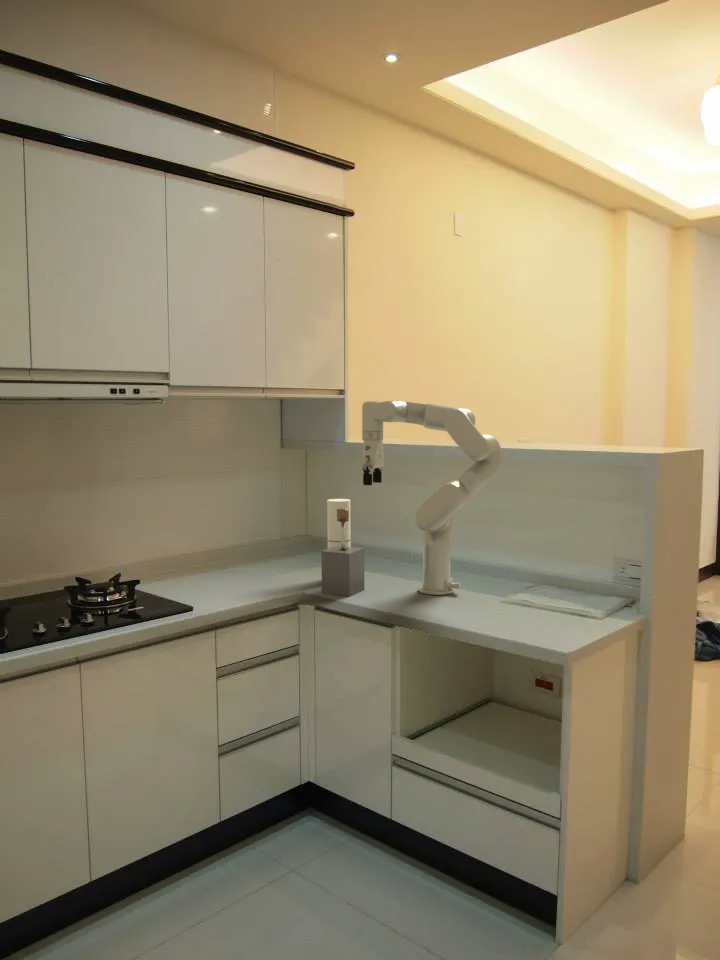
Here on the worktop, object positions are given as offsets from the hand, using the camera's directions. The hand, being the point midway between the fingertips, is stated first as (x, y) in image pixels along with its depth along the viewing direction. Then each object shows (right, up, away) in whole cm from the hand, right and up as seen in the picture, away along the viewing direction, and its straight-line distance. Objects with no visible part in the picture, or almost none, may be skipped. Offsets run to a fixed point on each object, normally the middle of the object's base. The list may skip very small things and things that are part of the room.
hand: (372, 483), depth 274 cm
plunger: (-10, -28, -7) cm, 31 cm away
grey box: (-10, -38, -6) cm, 40 cm away
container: (-12, -36, +11) cm, 40 cm away
